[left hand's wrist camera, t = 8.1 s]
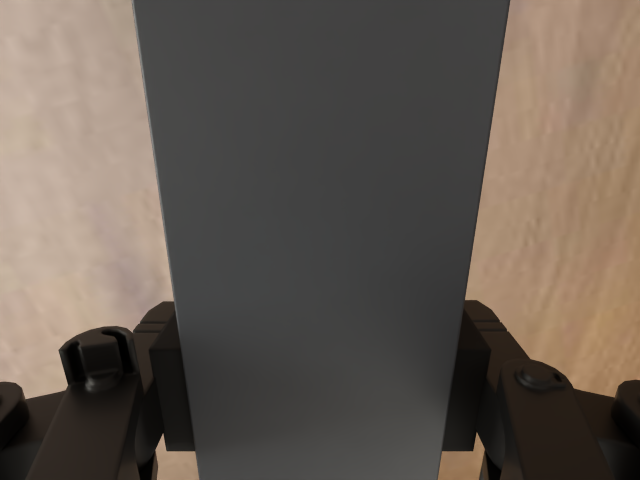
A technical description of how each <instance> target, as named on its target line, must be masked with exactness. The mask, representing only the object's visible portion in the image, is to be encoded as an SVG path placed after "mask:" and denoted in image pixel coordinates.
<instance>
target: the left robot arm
mask: <svg viewBox="0 0 640 480" xmlns="http://www.w3.org/2000/svg"><path fill="white" fill-rule="evenodd" d="M59 354H60V357H61V361H62V364H63V368H64V372H65V375H66V379H67V382H68V387H67V389H66V390H65V391H61V392H58V393H53V394H48V395H44V396H39V397H34V398H30V399H25V396H24V393H23V390H22V388H21V387H20V386H19V385H17V384H16V383H11V382H0V480H157V472H158V463H157V456H156V451H155V449H156V447H157V445H158V443H159V441H160V439H161V436H162V434H164V439H165V445H166V451H195V445H194V438H193V431H192V424H191V417H190V409H189V402H188V395H187V388H186V381H185V374H184V367H183V360H182V353H181V346H180V339H179V332H178V325H177V318H176V311H175V304H174V302H162V303H160V304H159V305H157V306H155V307H154V308H152V309H151V310H149V311H148V312H147V314H146V315H145V316H144V317H143V319H142V320H141V321H140V324H138V325H137V326H136V328H135V329H134V330H133V333H132V332H131V331H130V330H128V329H127V328H123V327H118V326H108V327H101V328H96V329H92V330H89V331H86V332H84V333H81V334H79V335H76V336H75V337H73V338H72V339H70V340H69V341H67V342H66V343H65V344H64V345H63V346H62V347H61V348H60V349H59ZM476 433H478V435H479V437H480V439H481V441H482V444H483V446H484V448H485V451H484V456H483V461H482V467H481V472H480V477H479V480H640V380H630V381H624V382H623V383H622V384H620V385H619V386H618V389H617V392H616V395H615V398H614V397H609V396H605V395H600V394H595V393H590V392H586V391H581V390H578V389H574V388H573V386H572V384H571V383H570V381H569V380H568V379H567V377H566V376H565V375H563V374H562V373H561V372H559V371H558V370H557V369H555V368H553V367H551V366H549V365H547V364H545V363H543V362H539V361H535V360H531V359H530V358H529V357H528V355H527V354H526V353H525V352H524V350H523V349H522V348H521V347H520V345H519V344H518V343H517V341H516V340H515V339H514V338H513V336H512V335H511V334H510V333H509V332H507V329H506V328H505V326H504V325H503V324H502V322H500V320H499V319H498V317H497V316H496V315H495V314H494V312H493V311H492V310H491V309H490V308H488V307H487V306H485V305H483V304H482V303H480V302H479V301H477V300H465V302H464V308H463V315H462V322H461V328H460V335H459V341H458V348H457V355H456V361H455V368H454V374H453V381H452V388H451V394H450V401H449V407H448V414H447V421H446V427H445V434H444V440H443V447H442V451H473V449H474V444H475V438H476Z"/></svg>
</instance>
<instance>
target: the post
mask: <svg viewBox="0 0 640 480" xmlns="http://www.w3.org/2000/svg"><path fill="white" fill-rule="evenodd" d="M509 5H510V0H132V7H133V14H134V21H135V28H136V35H137V42H138V49H139V56H140V63H141V71H142V78H143V85H144V92H145V99H146V106H147V113H148V120H149V127H150V134H151V141H152V148H153V155H154V162H155V169H156V176H157V184H158V191H159V198H160V205H161V212H162V219H163V226H164V233H165V240H166V247H167V254H168V261H169V268H170V275H171V282H172V289H173V297H174V304H175V311H176V318H177V325H178V332H179V339H180V346H181V353H182V360H183V367H184V374H185V381H186V388H187V395H188V402H189V409H190V417H191V424H192V431H193V438H194V445H195V452H196V459H197V466H198V473H199V480H438V473H439V467H440V460H441V454H442V447H443V440H444V434H445V427H446V421H447V414H448V407H449V401H450V394H451V388H452V381H453V374H454V368H455V361H456V355H457V348H458V341H459V335H460V328H461V322H462V315H463V308H464V302H465V295H466V289H467V282H468V275H469V269H470V262H471V256H472V249H473V243H474V236H475V229H476V223H477V216H478V210H479V203H480V196H481V190H482V183H483V177H484V170H485V163H486V157H487V150H488V144H489V137H490V130H491V124H492V117H493V111H494V104H495V97H496V91H497V84H498V78H499V71H500V64H501V58H502V51H503V45H504V38H505V31H506V25H507V18H508V12H509Z"/></svg>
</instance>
